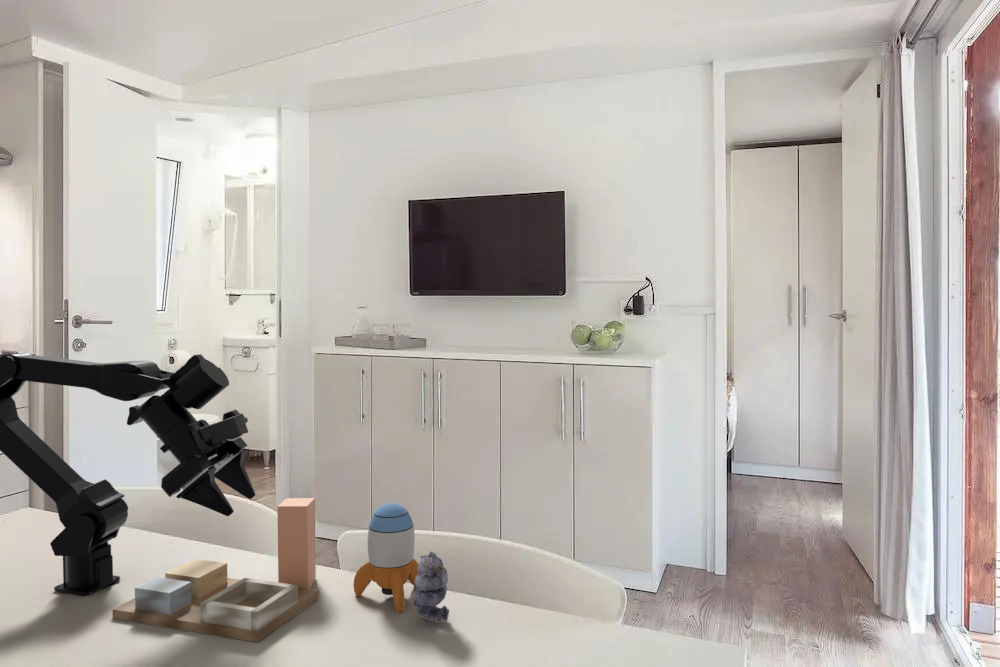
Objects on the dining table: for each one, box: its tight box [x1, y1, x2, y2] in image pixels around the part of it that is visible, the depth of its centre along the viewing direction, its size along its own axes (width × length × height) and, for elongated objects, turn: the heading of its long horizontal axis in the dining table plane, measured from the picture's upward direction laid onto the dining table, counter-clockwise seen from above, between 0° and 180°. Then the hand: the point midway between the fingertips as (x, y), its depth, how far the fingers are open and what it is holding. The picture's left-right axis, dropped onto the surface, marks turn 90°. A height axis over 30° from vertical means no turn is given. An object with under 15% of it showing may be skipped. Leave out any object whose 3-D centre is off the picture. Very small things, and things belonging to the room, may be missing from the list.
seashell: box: [411, 551, 450, 624], centre depth 92 cm, size 5×5×10 cm
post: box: [277, 497, 317, 589], centre depth 105 cm, size 4×4×13 cm
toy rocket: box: [353, 502, 419, 614], centre depth 100 cm, size 10×11×15 cm
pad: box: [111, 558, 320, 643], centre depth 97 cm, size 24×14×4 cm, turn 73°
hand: (242, 505), depth 105 cm, fingers open, 9 cm apart
